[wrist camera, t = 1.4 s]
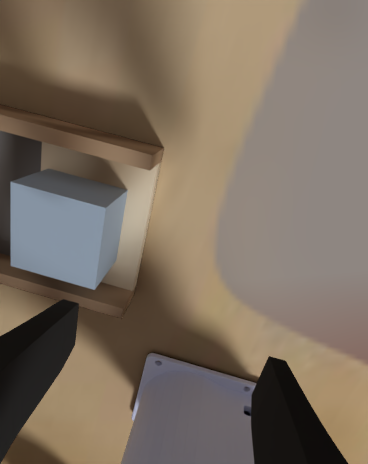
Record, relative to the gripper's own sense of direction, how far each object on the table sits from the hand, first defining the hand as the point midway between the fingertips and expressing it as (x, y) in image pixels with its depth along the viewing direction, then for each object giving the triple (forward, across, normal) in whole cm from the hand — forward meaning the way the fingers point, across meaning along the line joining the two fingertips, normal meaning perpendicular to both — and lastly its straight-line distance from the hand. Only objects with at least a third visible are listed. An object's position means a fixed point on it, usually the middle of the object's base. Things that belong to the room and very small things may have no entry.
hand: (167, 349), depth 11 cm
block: (+9, +7, 0) cm, 11 cm away
